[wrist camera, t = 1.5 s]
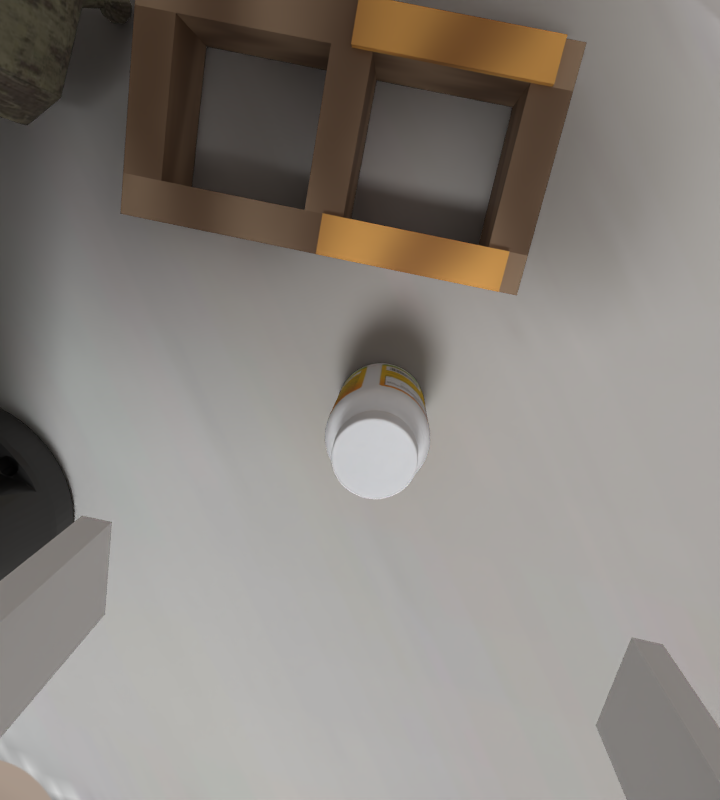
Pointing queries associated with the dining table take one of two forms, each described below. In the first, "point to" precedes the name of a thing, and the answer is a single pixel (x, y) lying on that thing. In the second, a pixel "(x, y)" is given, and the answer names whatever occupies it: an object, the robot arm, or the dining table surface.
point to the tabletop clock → (41, 50)
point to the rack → (348, 122)
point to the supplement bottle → (378, 431)
